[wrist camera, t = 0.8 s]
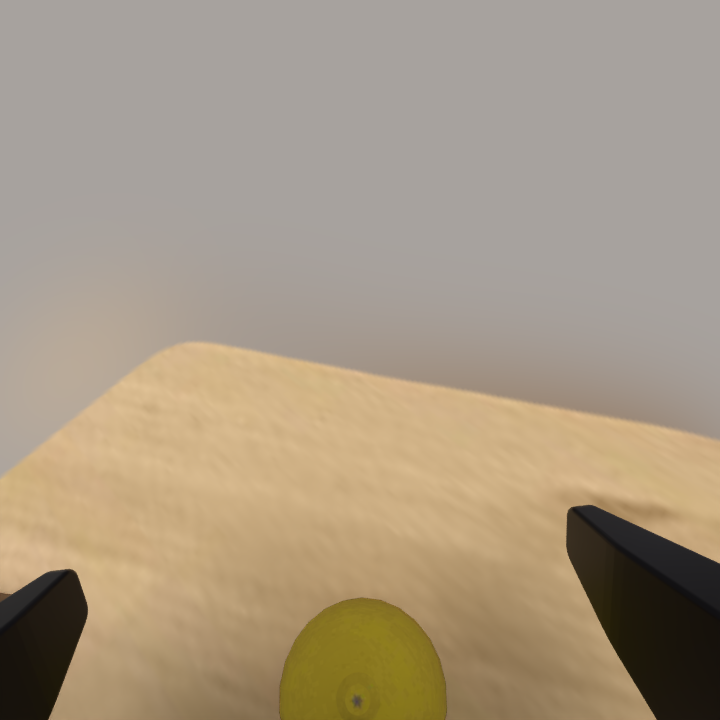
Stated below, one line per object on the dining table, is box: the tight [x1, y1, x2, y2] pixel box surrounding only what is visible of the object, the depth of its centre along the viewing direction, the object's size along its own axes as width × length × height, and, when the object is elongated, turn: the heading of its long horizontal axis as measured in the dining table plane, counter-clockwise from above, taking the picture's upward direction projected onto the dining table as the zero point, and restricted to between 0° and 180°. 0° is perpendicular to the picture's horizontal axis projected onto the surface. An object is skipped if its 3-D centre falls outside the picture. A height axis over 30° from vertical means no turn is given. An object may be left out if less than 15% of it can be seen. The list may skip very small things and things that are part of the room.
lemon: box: [279, 598, 447, 720], centre depth 16 cm, size 6×6×8 cm
